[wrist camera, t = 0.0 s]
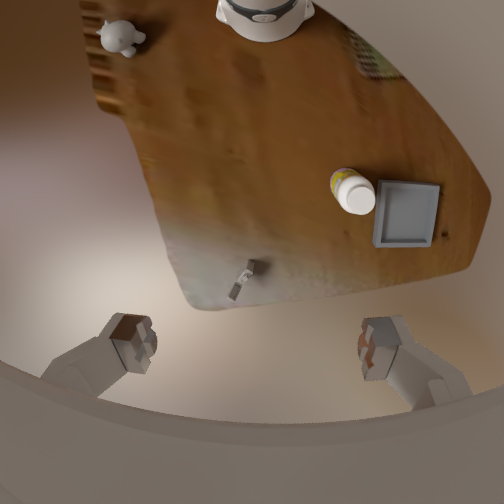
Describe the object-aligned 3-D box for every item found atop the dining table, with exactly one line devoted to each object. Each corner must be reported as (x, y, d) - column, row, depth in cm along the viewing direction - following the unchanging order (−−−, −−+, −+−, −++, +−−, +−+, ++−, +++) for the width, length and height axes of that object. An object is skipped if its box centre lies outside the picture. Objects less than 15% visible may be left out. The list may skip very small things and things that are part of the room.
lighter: (248, 258, 63) (244, 277, 56) (254, 263, 64) (251, 282, 57) (230, 280, 66) (225, 300, 59) (237, 284, 67) (232, 304, 60)
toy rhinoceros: (129, 21, 43) (104, 7, 35) (152, 36, 41) (124, 20, 34) (110, 45, 45) (83, 34, 38) (130, 63, 44) (100, 50, 36)
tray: (377, 179, 53) (381, 182, 50) (434, 183, 51) (439, 186, 49) (372, 242, 59) (375, 247, 57) (425, 242, 57) (430, 246, 55)
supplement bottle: (365, 174, 53) (387, 189, 41) (354, 203, 56) (372, 226, 44) (335, 162, 52) (351, 174, 41) (324, 192, 55) (336, 213, 44)
